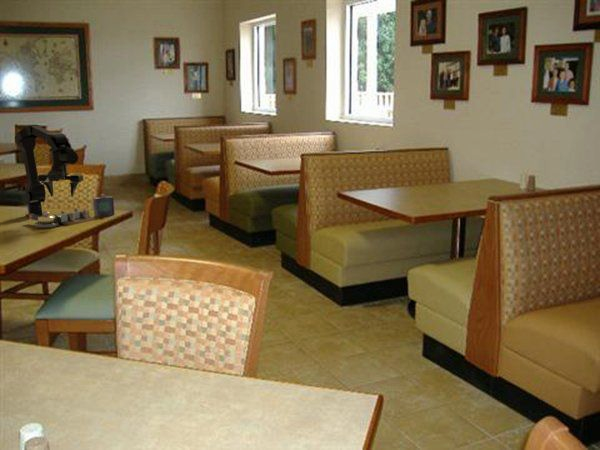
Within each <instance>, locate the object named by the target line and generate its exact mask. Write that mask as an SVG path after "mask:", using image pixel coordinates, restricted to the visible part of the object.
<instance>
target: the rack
mask: <svg viewBox="0 0 600 450" xmlns="http://www.w3.org/2000/svg"><path fill="white" fill-rule="evenodd" d="M73 209H74V211H79V208H78V207H75V208H73ZM82 210H83V212H84V218H80V219H75V217H74V212H73V211H70V212H71V213H70V215H71V220H69V221H65V222H59V225H64V226H71V225H77V224H80V223H85V222H90V221H94V220H95V216H94V217H93V216H89V217H88V215H87V210H88V209H82ZM60 213H66V210H62V211H60Z"/></svg>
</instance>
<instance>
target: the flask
mask: <svg viewBox="0 0 600 450" xmlns="http://www.w3.org/2000/svg"><path fill="white" fill-rule="evenodd" d="M92 202H93V213H94V214H93V216H94V218H100V217H101V218H102V217H103V218H104V217H110V216H112V217H113V216H115V206H114V196H112V195H111V196H110V195H104V193H101V194H100V197H94V198H93V199H92Z"/></svg>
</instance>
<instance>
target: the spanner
mask: <svg viewBox="0 0 600 450" xmlns="http://www.w3.org/2000/svg"><path fill="white" fill-rule="evenodd" d="M83 210H84V209H82V210H80V209H78V211H75V210H74V211H68V212H65V213H61V212H58V213H54V214H53V215H55V221H58V222H65V221H69V220H71V215H70V213H71V212H74V217H75V219H80V218H84V212H83ZM86 210H87V215H88V217H90V210H88V209H86Z"/></svg>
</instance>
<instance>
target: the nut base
mask: <svg viewBox="0 0 600 450" xmlns="http://www.w3.org/2000/svg"><path fill="white" fill-rule="evenodd" d="M42 213H43V216H50V215H51V214H50V211H42ZM58 227H60V224H59V222H58V221H55V222H53V223H48V224H40V223H38V221H37V222H35V223H34V229H37V230H47V229H49V230H50V229H55V228H58Z"/></svg>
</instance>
